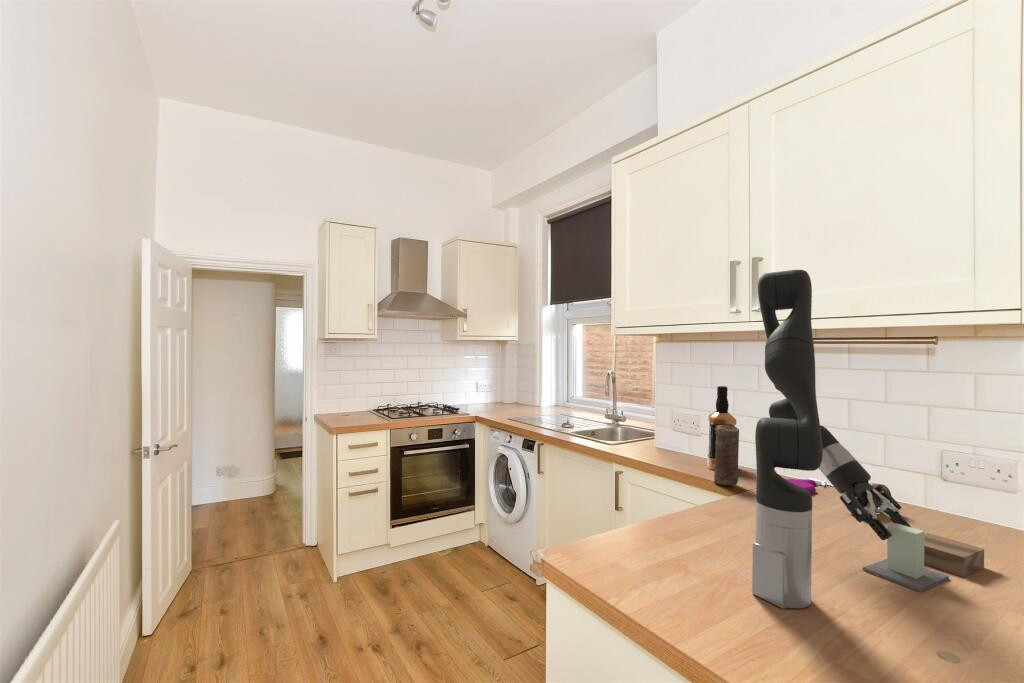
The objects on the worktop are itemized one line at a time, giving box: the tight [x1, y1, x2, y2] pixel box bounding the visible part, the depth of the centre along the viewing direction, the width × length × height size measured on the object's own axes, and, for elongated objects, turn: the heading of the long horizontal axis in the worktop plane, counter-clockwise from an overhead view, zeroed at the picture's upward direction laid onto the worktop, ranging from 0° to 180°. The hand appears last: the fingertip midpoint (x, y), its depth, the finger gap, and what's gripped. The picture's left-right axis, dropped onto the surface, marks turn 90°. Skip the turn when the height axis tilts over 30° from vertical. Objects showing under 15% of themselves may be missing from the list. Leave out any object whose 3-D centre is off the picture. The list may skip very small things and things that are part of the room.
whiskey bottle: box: [706, 385, 737, 471], centre depth 188 cm, size 10×10×32 cm
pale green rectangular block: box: [886, 523, 925, 579], centre depth 100 cm, size 4×5×9 cm
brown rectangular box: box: [924, 532, 985, 578], centre depth 106 cm, size 10×10×4 cm
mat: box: [862, 558, 950, 593], centre depth 100 cm, size 12×10×1 cm
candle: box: [713, 425, 740, 487], centre depth 164 cm, size 8×7×20 cm
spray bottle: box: [785, 477, 827, 495], centre depth 162 cm, size 3×11×24 cm
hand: (898, 535), depth 101 cm, fingers open, 8 cm apart
